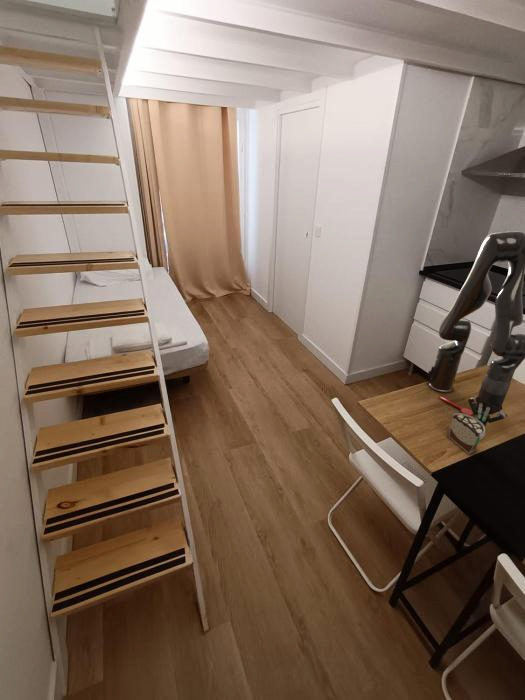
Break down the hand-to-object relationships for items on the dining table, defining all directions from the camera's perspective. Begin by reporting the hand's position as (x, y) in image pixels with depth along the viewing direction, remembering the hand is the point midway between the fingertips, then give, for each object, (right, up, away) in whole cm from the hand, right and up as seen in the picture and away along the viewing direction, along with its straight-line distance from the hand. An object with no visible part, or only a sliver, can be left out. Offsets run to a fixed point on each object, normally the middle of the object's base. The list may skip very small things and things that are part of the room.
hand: (479, 426), depth 121 cm
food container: (-7, -6, -2) cm, 9 cm away
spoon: (+1, +4, +17) cm, 18 cm away
